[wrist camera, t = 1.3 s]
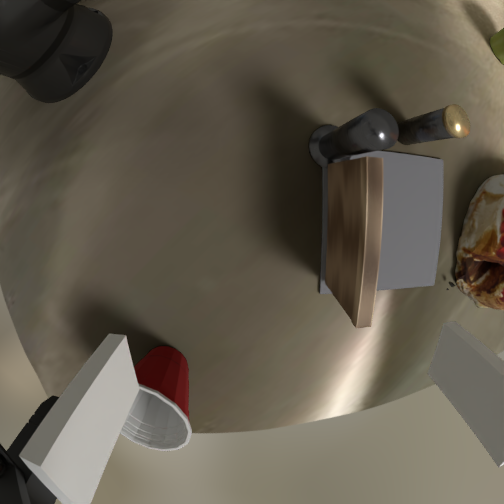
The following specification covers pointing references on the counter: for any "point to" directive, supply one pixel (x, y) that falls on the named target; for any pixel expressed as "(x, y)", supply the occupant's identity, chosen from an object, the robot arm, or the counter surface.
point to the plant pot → (498, 45)
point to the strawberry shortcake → (483, 247)
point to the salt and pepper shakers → (384, 133)
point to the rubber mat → (402, 220)
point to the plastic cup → (160, 402)
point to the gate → (354, 235)
